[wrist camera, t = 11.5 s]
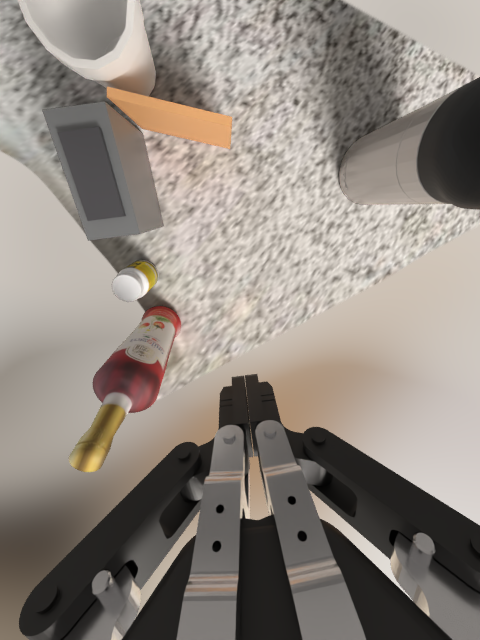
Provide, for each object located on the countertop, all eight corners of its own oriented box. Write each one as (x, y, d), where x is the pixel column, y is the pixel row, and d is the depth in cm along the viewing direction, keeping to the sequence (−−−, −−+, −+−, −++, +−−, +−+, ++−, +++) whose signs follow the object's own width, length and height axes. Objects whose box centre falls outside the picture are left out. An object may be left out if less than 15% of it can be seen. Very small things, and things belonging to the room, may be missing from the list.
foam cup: (166, 24, 31) (128, -90, 19) (170, 119, 34) (141, 73, 23) (84, 15, 30) (-8, -109, 18) (98, 112, 34) (28, 62, 22)
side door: (142, 121, 34) (106, 86, 24) (230, 142, 35) (232, 117, 25) (142, 128, 34) (106, 96, 24) (229, 148, 36) (230, 126, 26)
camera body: (143, 134, 35) (101, 99, 23) (163, 226, 40) (138, 234, 28) (99, 139, 35) (37, 107, 24) (126, 230, 40) (85, 241, 28)
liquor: (137, 329, 47) (30, 476, 21) (150, 295, 44) (47, 416, 19) (174, 344, 49) (116, 497, 23) (189, 312, 46) (143, 445, 21)
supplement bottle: (145, 253, 42) (127, 264, 34) (164, 277, 43) (151, 292, 36) (123, 270, 42) (101, 284, 35) (143, 292, 44) (125, 310, 37)
